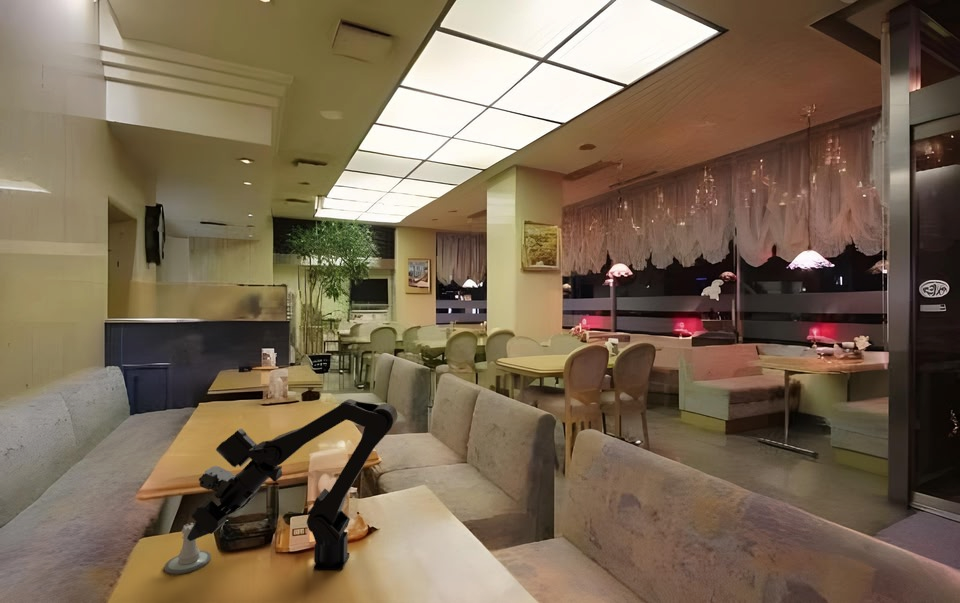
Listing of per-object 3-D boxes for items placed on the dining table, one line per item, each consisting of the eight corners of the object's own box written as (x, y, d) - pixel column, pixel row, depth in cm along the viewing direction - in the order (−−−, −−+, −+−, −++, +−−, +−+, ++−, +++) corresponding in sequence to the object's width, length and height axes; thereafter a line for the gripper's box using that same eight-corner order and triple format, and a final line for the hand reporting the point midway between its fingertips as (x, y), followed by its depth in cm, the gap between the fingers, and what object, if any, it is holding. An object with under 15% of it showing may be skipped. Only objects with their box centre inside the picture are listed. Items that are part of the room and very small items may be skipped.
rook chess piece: (193, 565, 103) (194, 529, 103) (173, 566, 103) (173, 530, 103) (204, 555, 107) (205, 520, 108) (184, 555, 107) (185, 521, 107)
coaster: (218, 553, 110) (218, 550, 110) (196, 574, 101) (196, 571, 101) (180, 553, 110) (181, 550, 110) (154, 574, 101) (154, 571, 101)
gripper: (244, 444, 115) (200, 489, 115) (200, 469, 97) (147, 523, 96) (276, 475, 115) (232, 520, 115) (238, 506, 96) (185, 560, 96)
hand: (201, 529), depth 105 cm, fingers open, 9 cm apart
